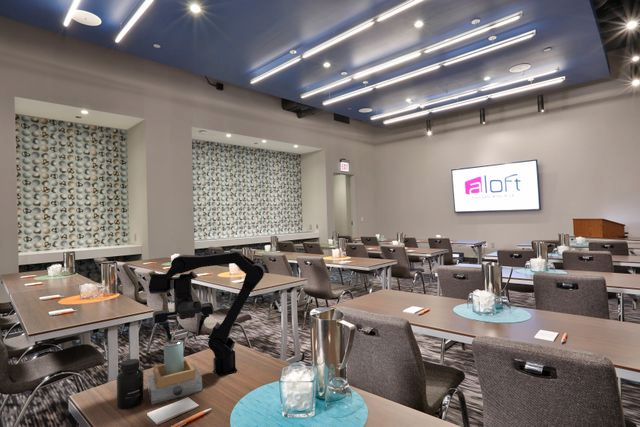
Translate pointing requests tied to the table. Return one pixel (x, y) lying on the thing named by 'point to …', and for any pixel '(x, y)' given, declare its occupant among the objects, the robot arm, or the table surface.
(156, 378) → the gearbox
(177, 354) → the tin can
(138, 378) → the supplement bottle
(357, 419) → the table surface
